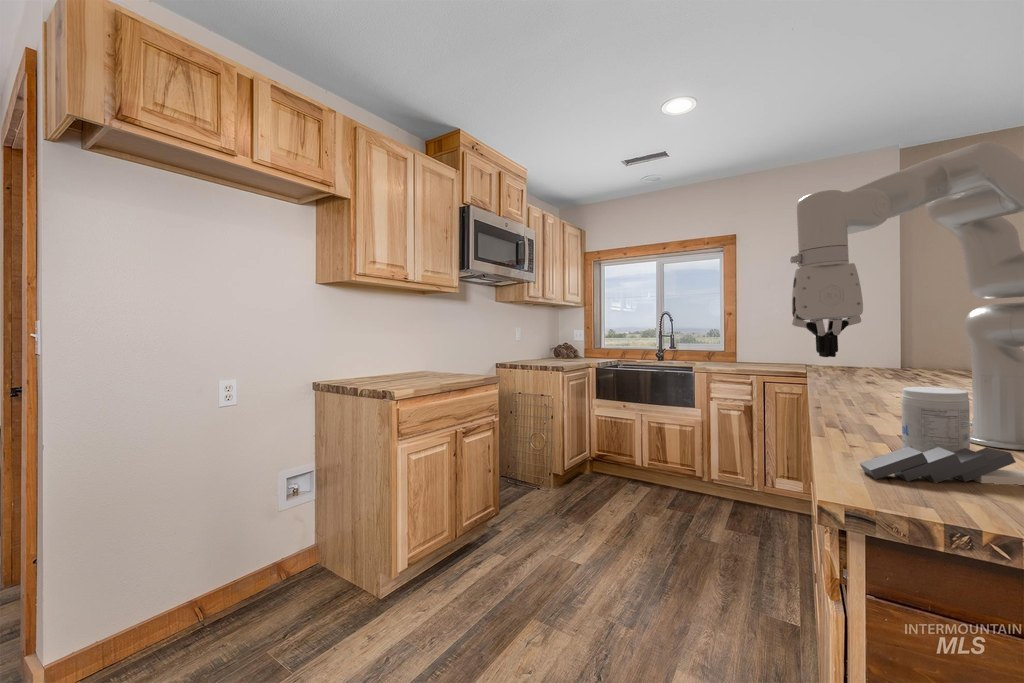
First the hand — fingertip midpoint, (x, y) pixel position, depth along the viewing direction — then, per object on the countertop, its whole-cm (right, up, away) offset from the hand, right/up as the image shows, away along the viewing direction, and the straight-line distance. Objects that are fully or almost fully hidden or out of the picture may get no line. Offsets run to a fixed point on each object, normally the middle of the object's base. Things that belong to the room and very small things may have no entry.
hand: (827, 356), depth 80 cm
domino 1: (+6, -21, -2) cm, 22 cm away
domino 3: (+14, -21, -4) cm, 26 cm away
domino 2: (+10, -21, -3) cm, 24 cm away
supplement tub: (+24, -22, +4) cm, 33 cm away
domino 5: (+22, -21, -5) cm, 31 cm away
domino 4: (+19, -21, -5) cm, 28 cm away
